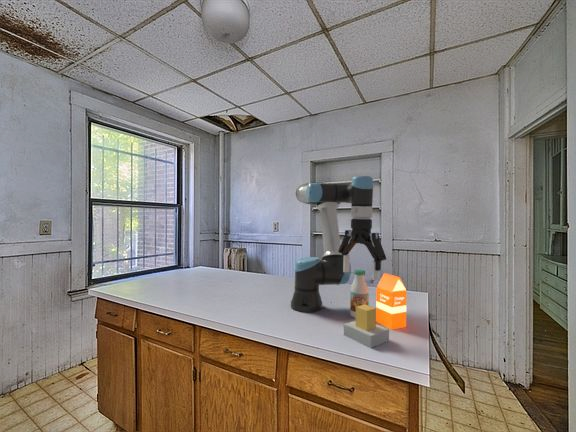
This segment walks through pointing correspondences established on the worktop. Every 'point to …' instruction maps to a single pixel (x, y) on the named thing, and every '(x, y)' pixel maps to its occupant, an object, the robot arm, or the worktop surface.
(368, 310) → the yellow rectangular block
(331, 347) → the worktop surface
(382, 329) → the toggle switch box
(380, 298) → the orange juice
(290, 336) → the worktop surface
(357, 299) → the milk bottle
